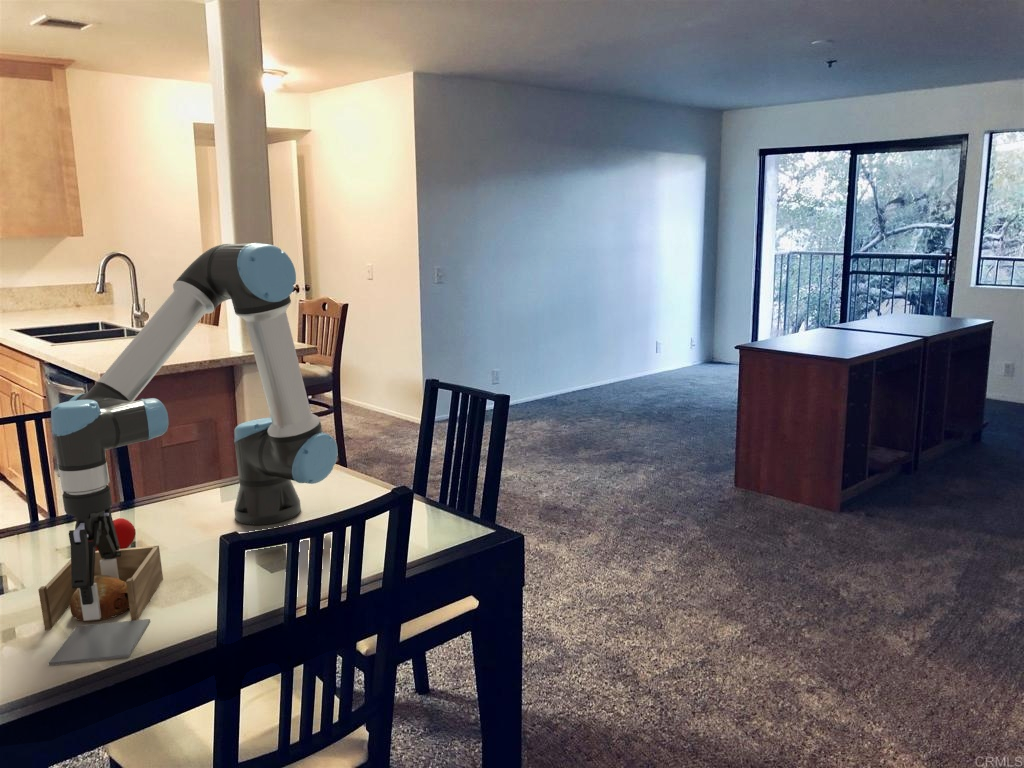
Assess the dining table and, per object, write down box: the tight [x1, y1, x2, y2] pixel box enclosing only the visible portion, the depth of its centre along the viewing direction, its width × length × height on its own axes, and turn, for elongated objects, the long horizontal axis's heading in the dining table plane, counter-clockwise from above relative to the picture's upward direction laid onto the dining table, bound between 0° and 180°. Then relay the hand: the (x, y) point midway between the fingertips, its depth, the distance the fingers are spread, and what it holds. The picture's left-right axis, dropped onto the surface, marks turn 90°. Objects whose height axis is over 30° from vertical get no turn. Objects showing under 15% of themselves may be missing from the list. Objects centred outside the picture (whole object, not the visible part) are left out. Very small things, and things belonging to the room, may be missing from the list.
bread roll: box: [69, 575, 130, 622], centre depth 145 cm, size 10×10×8 cm
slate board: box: [48, 618, 151, 666], centre depth 134 cm, size 12×12×1 cm
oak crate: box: [38, 545, 164, 631], centre depth 147 cm, size 15×17×8 cm
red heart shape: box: [88, 517, 137, 551], centre depth 163 cm, size 9×7×10 cm
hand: (102, 605), depth 146 cm, fingers closed on bread roll, 10 cm apart
